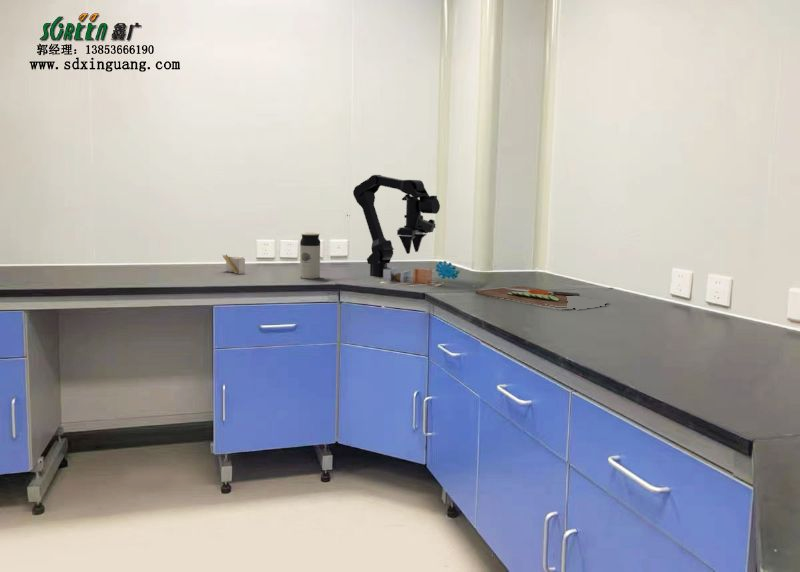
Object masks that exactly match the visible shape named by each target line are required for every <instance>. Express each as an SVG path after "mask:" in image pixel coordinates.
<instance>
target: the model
mask: <svg viewBox="0 0 800 572" xmlns="http://www.w3.org/2000/svg"><path fill="white" fill-rule="evenodd" d="M222 258H223V259H224V260H225V264H226V265H225V266H226V267H225V269H226V271H225V272H230V273H234V274H238V275H242V274H246V259H245V257H244V256H240V255H239V256H229V255H228V254H227V253H226V254H225V255H224V254H222Z"/></svg>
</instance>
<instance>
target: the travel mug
mask: <svg viewBox="0 0 800 572" xmlns="http://www.w3.org/2000/svg"><path fill="white" fill-rule="evenodd" d="M300 235H301V239H300V242H299V247H300V249H299V250H300V251H299V277H300V278H302V279H304V280H305V279H308V280H310V279H311V280H313V279H315V278H316V279H319V278H321V240H320V238H319V237H320V233H319V232H301V233H300Z"/></svg>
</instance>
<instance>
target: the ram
mask: <svg viewBox="0 0 800 572" xmlns="http://www.w3.org/2000/svg"><path fill="white" fill-rule="evenodd" d="M400 273H401V278H400V282H402V283H405V282H408V281H409V282H413V283H414V284H416V283H419V284H426V285H428V284H430V283H432V281H433V268H420V267H416V268H414V269H413V273H412V275H413V276H411V270H404V271H401V272H400Z"/></svg>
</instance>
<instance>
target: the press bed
mask: <svg viewBox="0 0 800 572" xmlns="http://www.w3.org/2000/svg"><path fill="white" fill-rule="evenodd" d="M379 284H388V285H396V286H397V285H398V286H411V287H423V288H432V289H434V288H437V287H439V286H441V285H444V282H443V281H434V280H432V283H430V284H428V285H426V284H419V283H416V284H414V283H413V282H409V281H408V282H405V283H402V282H397V281H395V282H389V283H384V282H383V281H381V282H379Z"/></svg>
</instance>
